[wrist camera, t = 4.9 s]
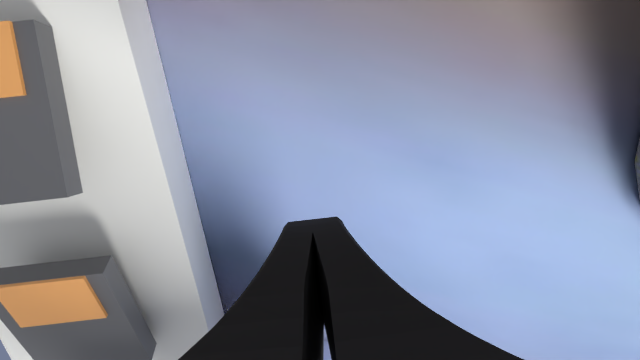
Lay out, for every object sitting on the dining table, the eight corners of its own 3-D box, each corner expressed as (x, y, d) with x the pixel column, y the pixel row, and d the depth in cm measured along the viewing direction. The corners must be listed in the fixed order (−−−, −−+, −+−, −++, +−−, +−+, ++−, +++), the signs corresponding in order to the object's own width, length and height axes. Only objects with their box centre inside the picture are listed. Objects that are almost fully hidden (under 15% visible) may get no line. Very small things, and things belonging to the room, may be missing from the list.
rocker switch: (156, 343, 20) (150, 365, 20) (54, 355, 20) (43, 377, 19) (111, 255, 17) (101, 276, 16) (-11, 269, 17) (-28, 291, 16)
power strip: (235, 358, 26) (228, 401, 23) (73, 377, 26) (46, 422, 23) (53, -371, 13) (-11, -469, 10) (-271, -339, 13) (-424, -429, 10)
